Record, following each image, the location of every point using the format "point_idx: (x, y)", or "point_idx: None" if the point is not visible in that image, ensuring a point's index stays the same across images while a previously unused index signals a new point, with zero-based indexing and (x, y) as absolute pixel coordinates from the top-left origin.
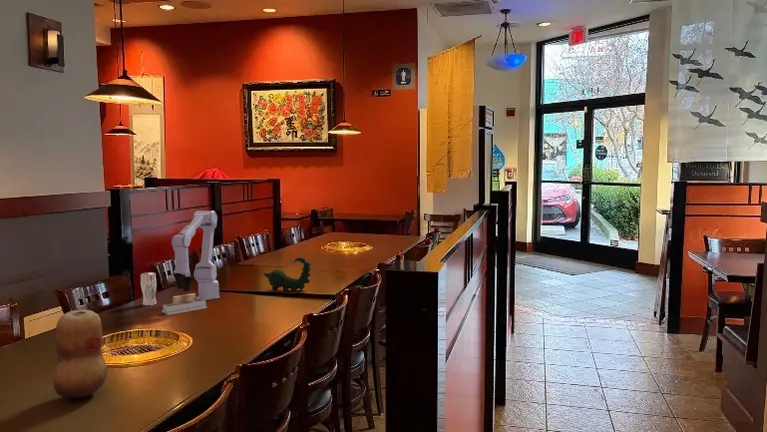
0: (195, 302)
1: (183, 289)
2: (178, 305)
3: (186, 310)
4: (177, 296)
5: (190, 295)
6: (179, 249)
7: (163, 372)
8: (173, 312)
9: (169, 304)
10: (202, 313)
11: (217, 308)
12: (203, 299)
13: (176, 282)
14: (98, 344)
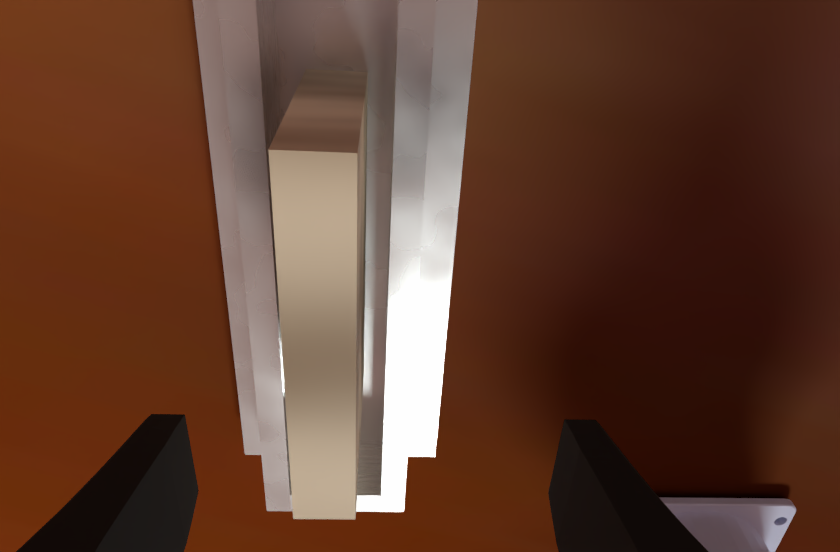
0: (258, 398)
1: (151, 441)
2: (235, 150)
3: (219, 215)
4: (292, 239)
5: (290, 439)
6: None
7: None
8: (197, 8)
9: (399, 39)
10: (3, 320)
11: None
12: None
13: (669, 532)
14: None
